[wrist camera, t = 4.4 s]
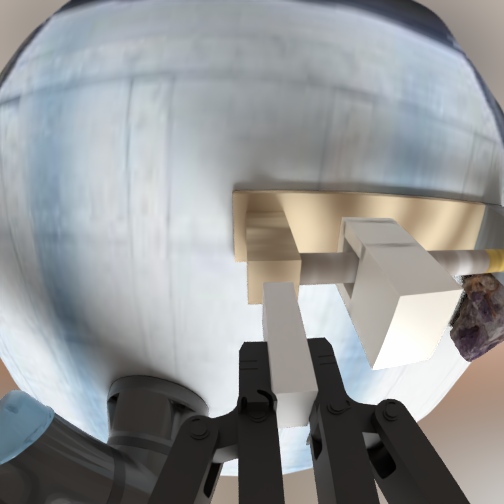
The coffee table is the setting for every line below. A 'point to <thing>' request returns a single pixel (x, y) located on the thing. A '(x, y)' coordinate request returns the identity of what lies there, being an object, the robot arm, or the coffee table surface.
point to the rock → (480, 317)
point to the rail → (328, 231)
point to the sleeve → (395, 292)
